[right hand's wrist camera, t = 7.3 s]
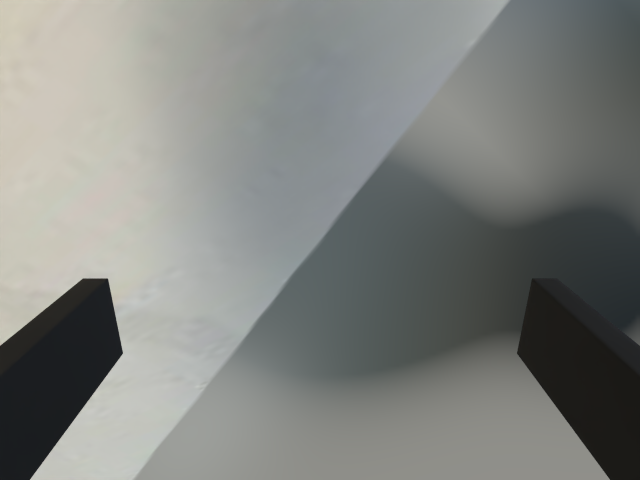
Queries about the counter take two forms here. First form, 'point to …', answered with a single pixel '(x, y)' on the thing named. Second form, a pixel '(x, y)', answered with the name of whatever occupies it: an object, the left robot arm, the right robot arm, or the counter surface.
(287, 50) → the counter surface
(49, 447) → the right robot arm
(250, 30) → the counter surface
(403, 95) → the counter surface
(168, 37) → the counter surface
